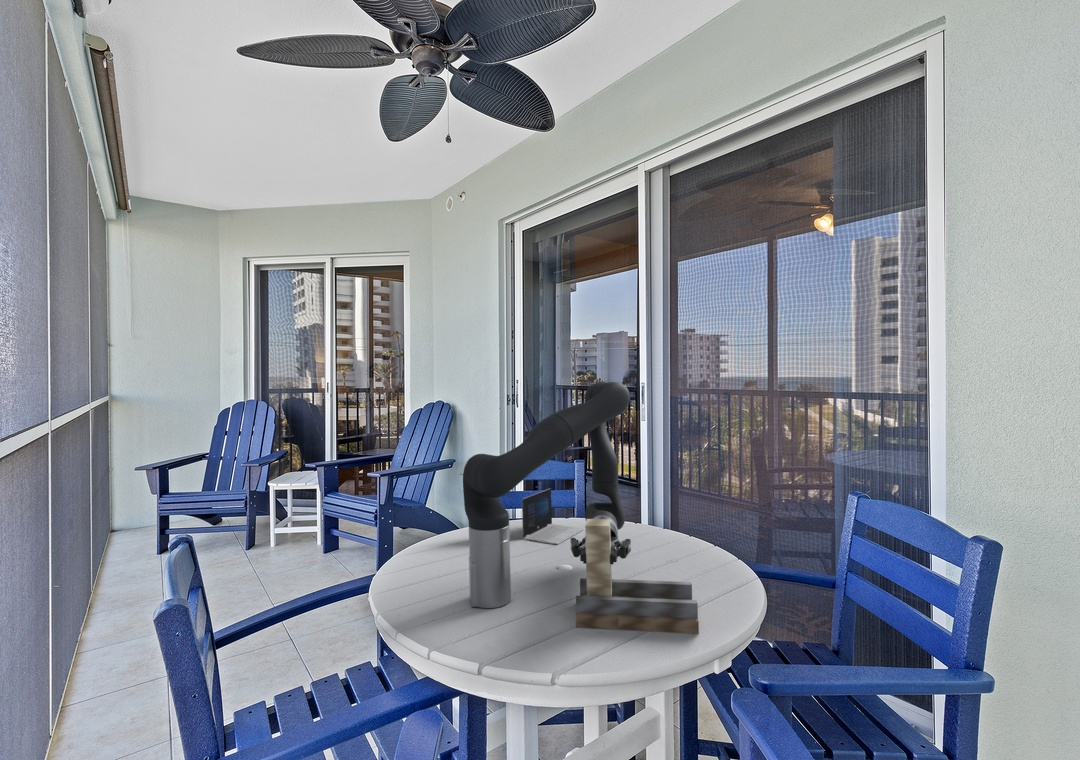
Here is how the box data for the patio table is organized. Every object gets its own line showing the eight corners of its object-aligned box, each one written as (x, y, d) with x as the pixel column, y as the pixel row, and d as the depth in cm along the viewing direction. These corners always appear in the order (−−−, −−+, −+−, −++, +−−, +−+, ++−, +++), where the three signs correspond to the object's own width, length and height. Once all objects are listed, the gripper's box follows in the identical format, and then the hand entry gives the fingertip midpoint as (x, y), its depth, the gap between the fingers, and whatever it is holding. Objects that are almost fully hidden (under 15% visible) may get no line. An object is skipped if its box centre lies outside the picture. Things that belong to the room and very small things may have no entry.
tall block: (587, 601, 113) (585, 525, 113) (588, 591, 118) (586, 518, 118) (611, 602, 112) (609, 525, 112) (612, 592, 117) (610, 519, 117)
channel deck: (576, 627, 109) (575, 600, 109) (581, 600, 122) (580, 576, 122) (698, 633, 106) (698, 605, 105) (691, 605, 118) (690, 580, 118)
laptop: (557, 546, 162) (556, 502, 162) (522, 540, 169) (521, 498, 169) (584, 530, 178) (583, 491, 178) (551, 526, 184) (550, 487, 184)
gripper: (571, 518, 130) (563, 540, 113) (632, 519, 128) (632, 542, 111) (572, 549, 130) (564, 576, 114) (632, 551, 128) (633, 578, 111)
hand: (598, 559), depth 112 cm, fingers closed on tall block, 5 cm apart
